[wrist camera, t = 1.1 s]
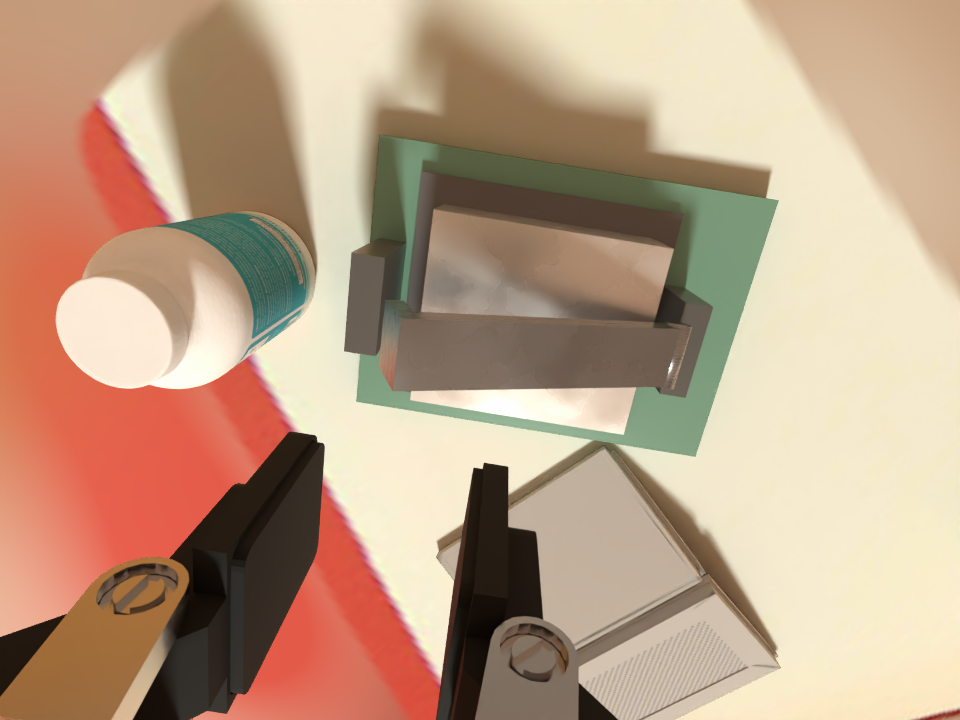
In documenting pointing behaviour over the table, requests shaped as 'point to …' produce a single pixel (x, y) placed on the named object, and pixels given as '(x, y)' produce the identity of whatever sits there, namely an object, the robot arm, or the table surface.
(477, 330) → the strap
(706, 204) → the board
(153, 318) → the pill bottle
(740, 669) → the gadget
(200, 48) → the table surface
